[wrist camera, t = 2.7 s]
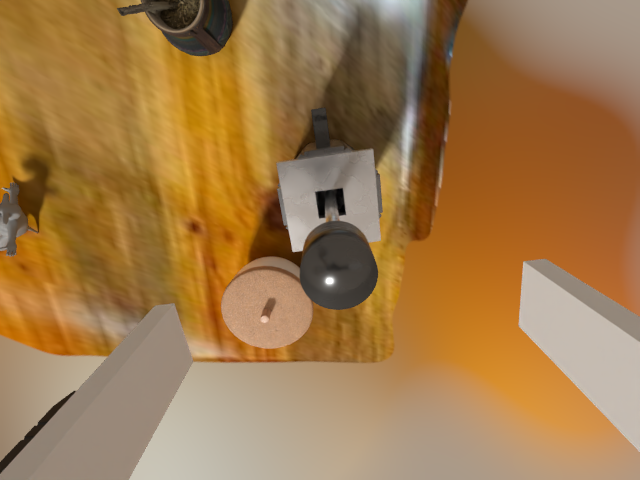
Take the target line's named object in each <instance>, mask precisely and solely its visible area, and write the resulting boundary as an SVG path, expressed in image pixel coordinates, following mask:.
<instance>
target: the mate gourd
mask: <svg viewBox="0 0 640 480" xmlns="http://www.w3.org/2000/svg"><path fill="white" fill-rule="evenodd" d="M141 2H142V4H139V5H132V6H129V7H123V8H117V10H118V11H119V13H120V14H121V15H122V16H125V15H127V14H135V13H136V14H137V13H140V12H145V13H146V14H147V16H148V18H149V19H150V21H151V22H152V23H153V24H154V25H155V26H156V27H157V28H158V29H160V30H161V31H162V33H163V34H164V36H165V37H166V38H167V40H168V41H169V42H170V43H171V44H172V45H174V46H175V47H176V48H178V49H179V50H181V51H183V52H185V53H187V54H190V55H194V56H206V55H211V54H215V53H216V52H219V51H220V50H221V49H222V48H223V47H224V46H225V44H226V42H227V40H228V38H229V37H230V34H231V31H232V26H233V24H232V23H233V21H232V13H231V9H230V4H229V1H228V0H141Z"/></svg>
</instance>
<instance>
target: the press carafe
mask: <svg viewBox="0 0 640 480" xmlns="http://www.w3.org/2000/svg"><path fill="white" fill-rule="evenodd" d="M311 111H312V118H313V126H314V133H315V140H316V142H313V143H308V145H306V146H305V147H304V149H303V150H302V151H301V152H300V153H299V154H298V155H297V157H296V159H293V160H286V161H279V162H277V169H278V174H279V180H280V183H279V185H278V186H279V187H278V188H277V191H278V196H279V202H280V207H281V212H282V218H283V223H284V225H287V226H286V229H288V230H289V235H290V240H291V246H292V251H293V252H297V251H303V246H304V242H305V240H306V238H307V236H308V235H309V233H310V232H311V231H312V230H313V229H314V228H316V227H317V226H319V225H321V224H323V223H325V222H326V218H325V215H319V212H318V205H317V198H316V191H324V190H331V189H338V188H343V195H344V204H345V212H341V213H338V214H339V219H340V221H344V222H348V223H351V224H353V225H354V226H356V227H357V228H359V229H360V230H361V231H362V232H363V233H364V235H365V236H366V238H367V241H368V242H375V241H381V237H380V224H379V218H380V217H381V214H380V213H382V212H383V211H382V198H381V185H380V174H378V173H377V172H378V171H377V170H376V169H375V163H374V151H373V149H372V148H369V149H362V150H354V149H353V148H352V147H350V146H349V145H347V144H345V143H344V142H343V141H341V140H340V141H339V140H338V139H334V140H331V139H329V132H328V124H327V116H326V108H320V109H313V110H311Z"/></svg>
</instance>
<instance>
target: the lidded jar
mask: <svg viewBox="0 0 640 480" xmlns="http://www.w3.org/2000/svg"><path fill="white" fill-rule="evenodd" d="M221 310H222V315H223V319H224V321H225V323H226V325H227V326H228V328H229V329H230V331H231V332H232V333H233V334H234V335H235V336H236V337H238V338H239V339H240V340H242V341H244V342H245V343H248V344H250V345H252V346H256V347H260V348H279V347H283V346H286V345H289V344H291V343H293V342H295V341H297V340H298V339H299V338H300V337H302V336H303V334H304V333H305V332H306V331H307V329H308V328H309V326H310V324H311V321H312V317H313V302H312V300H311V299H310V298H309V297H308V296H307V295H306V294H305V292H304V290H303V288H302V286H301V282H300V268H299V267H298V266H297V265H296V264H294V263H293V262H291V261H289V260H287V259H284V258H281V257H273V256H269V257H262V258H258V259H256V260H253V261H251V262H250V263H248V264H247V265H245V266H244V267H243V268H242V269H241V270H240V271H239V272H238V273H237V274H236V275H235V277H234V278H233V279H232V281H231V282H230V283H229V285H228V286H227V288H226V290H225V292H224V294H223V297H222V302H221Z"/></svg>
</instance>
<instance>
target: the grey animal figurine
mask: <svg viewBox="0 0 640 480" xmlns="http://www.w3.org/2000/svg"><path fill="white" fill-rule="evenodd" d="M12 184H13V187H12ZM2 189H4V190H6V191H8V192H9V194H10V201H9V194H8V193H5V194H4V196H3V200H2V203H1V204H0V251H3V250H7V254H6V256H8V255H9V256H11V255H12V256H14V255H16V248H17V245H16V242H15V240H16V237H19V236H21V235H23V234H24V233H25V232H26V231H27V230H30V231H33V232H36V233H38V232H37V231H36V230H34V229H32V228H31V227H29V226H28V219H27V217H26V216H25V214H24V213H23V211H22V209H21V207H20V206H19V205H18V198H17V196H18V194H19V192H20V191H19V185H17V183H15V184H14V182H13V183H10V189H9V188H2ZM9 252H10V254H9ZM14 252H15V254H14Z"/></svg>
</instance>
